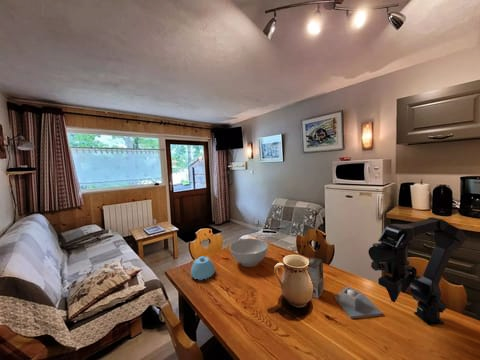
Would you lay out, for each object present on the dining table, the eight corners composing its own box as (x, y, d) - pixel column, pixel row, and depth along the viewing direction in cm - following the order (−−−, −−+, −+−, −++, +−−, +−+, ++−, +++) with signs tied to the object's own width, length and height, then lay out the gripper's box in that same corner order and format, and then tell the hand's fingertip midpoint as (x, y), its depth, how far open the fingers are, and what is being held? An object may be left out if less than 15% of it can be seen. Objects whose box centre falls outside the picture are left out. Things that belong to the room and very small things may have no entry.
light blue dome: (213, 280, 117) (211, 262, 117) (188, 282, 118) (186, 263, 117) (216, 267, 132) (215, 251, 132) (194, 269, 133) (193, 252, 132)
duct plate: (362, 295, 96) (362, 282, 96) (383, 315, 83) (382, 300, 83) (334, 298, 95) (334, 285, 95) (351, 318, 82) (350, 304, 82)
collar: (363, 303, 89) (363, 293, 89) (355, 310, 85) (355, 299, 85) (347, 295, 95) (347, 285, 95) (339, 302, 91) (339, 291, 91)
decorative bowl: (225, 259, 143) (223, 243, 142) (257, 251, 154) (256, 236, 153) (240, 277, 119) (239, 258, 118) (277, 265, 130) (276, 247, 129)
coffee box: (311, 285, 107) (310, 256, 106) (324, 289, 102) (323, 259, 101) (305, 294, 100) (304, 263, 99) (318, 299, 95) (317, 267, 94)
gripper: (384, 245, 87) (385, 278, 88) (362, 258, 78) (364, 295, 79) (416, 253, 78) (417, 291, 79) (396, 269, 68) (397, 312, 69)
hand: (398, 296), depth 77 cm, fingers open, 9 cm apart
